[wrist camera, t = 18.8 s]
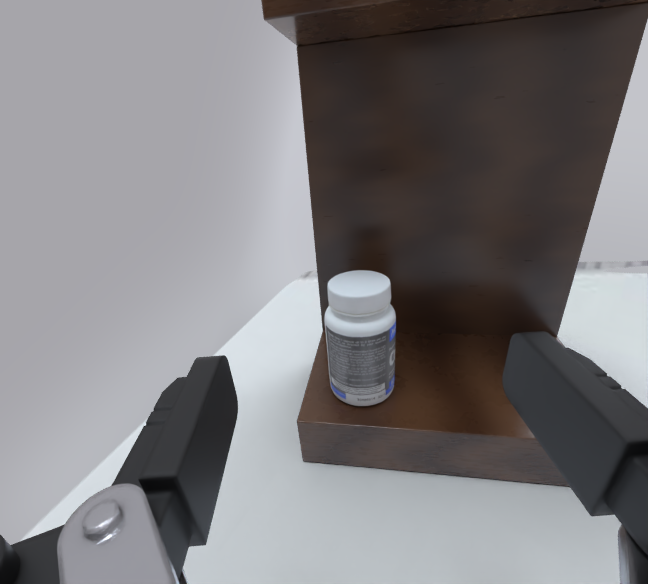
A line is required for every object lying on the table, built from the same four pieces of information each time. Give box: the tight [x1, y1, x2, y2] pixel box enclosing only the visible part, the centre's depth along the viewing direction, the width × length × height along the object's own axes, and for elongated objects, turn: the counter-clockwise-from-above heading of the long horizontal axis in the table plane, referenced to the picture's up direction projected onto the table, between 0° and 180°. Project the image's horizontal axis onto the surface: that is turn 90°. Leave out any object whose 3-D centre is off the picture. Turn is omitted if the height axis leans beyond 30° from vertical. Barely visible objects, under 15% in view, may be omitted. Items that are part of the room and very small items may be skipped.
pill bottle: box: [324, 270, 396, 406], centre depth 23 cm, size 5×5×8 cm
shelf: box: [261, 0, 648, 486], centre depth 22 cm, size 20×12×27 cm, turn 81°
